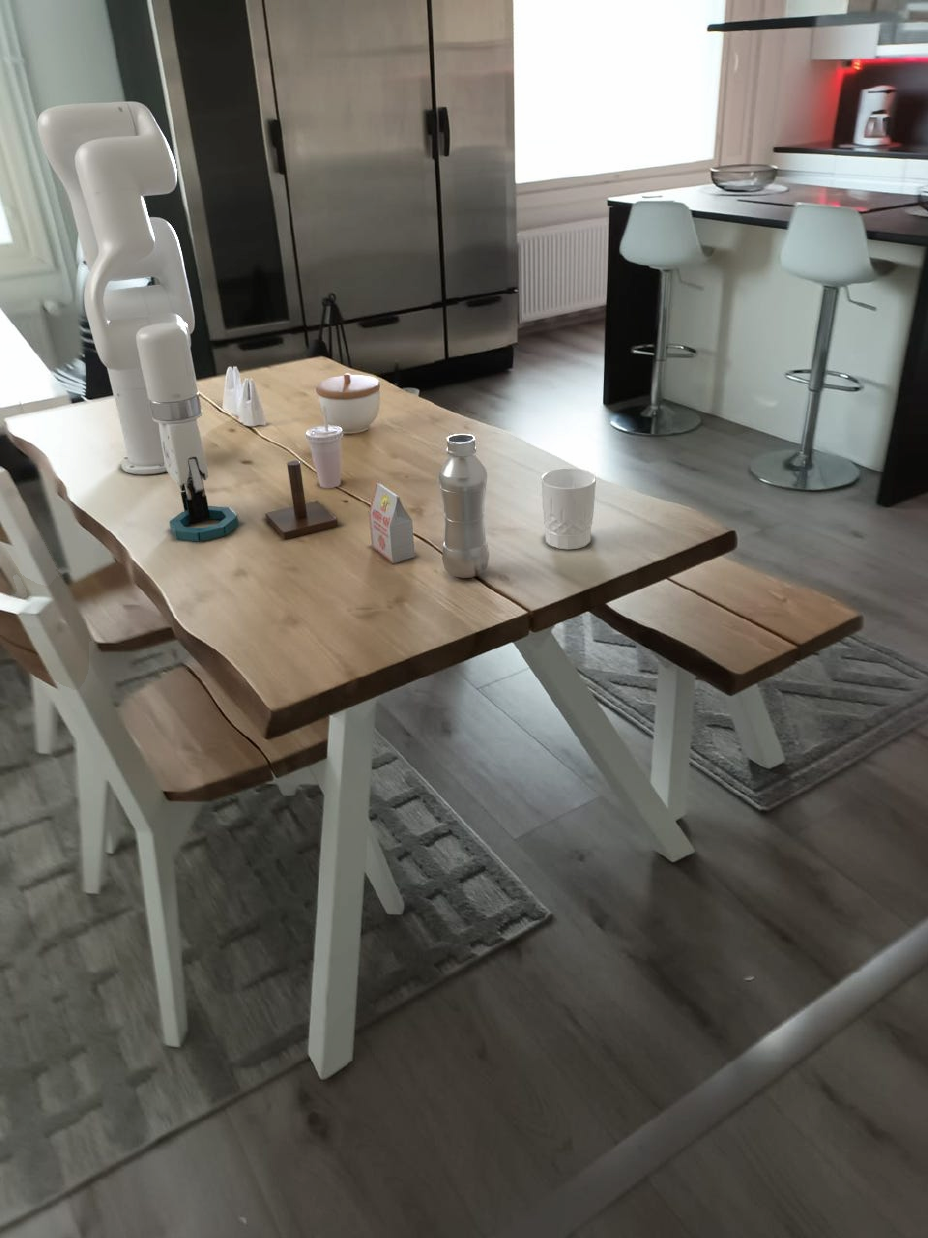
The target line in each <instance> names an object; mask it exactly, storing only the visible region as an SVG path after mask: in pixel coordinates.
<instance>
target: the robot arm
mask: <svg viewBox="0 0 928 1238" xmlns="http://www.w3.org/2000/svg"><path fill="white" fill-rule="evenodd" d="M37 132H38V136H39V140H40V143H41V146H42V149H43V151H44V154H45V156H46V158H47V160H48V162H49V164H50V165H51V168H52V169H53V170H54V173H55V174H56V175H57V177H58V179H59V181H60V183H61V184H62V185H63V188H64V190H65V192H66V194H67V196H68V199H69V202H70V205H71V210H72V213H73V218H74V221H75V225H76V231H77V234H78V238H79V242H80V246H81V250H82V254H83V257H84V261H85V263H86V267H87V270H88V271H89V272H88V275H87V277H86V281H85V285H84V293H83V294H84V295H83V297H84V298H83V299H84V300H83V301H84V311H85V315H86V319H87V322H88V325H89V329H90V333H91V336H92V340H93V344H94V347H95V350H96V352H97V355H98V358H99V360H100V361H101V363H102V364H103V365H104V366H105V367H106V369H107V374H108V377H109V382H110V385H111V390H112V394H113V398H114V403H115V407H116V411H117V416H118V420H119V424H120V429H121V433H122V437H123V442H124V446H125V450H126V455H124V456H123V457H122V458H121V460H120V462H119V463H120V467H121V469H122V470H123V471H124V472H126V473H129V474H133V475H154V474H161V473H165V472H167V473H168V474H169V476H170V477H171V479H172V480H173V481H174V482H175V483H176V484H177V485H179V489H180V496H181V501H182V507H183V512H184V511H186V510H188V513H189V518H190V521H191V523H196V522H201V521H205V520H210V519H209V518H210V514H209V509H208V506H209V504H208V499H207V495H206V491H205V486H204V481H206V480H208V478H209V471H208V466H207V465H208V464H207V460H206V454H205V449H204V445H203V441H202V435H201V431H200V426H199V421H198V419H199V418H201V417H202V415H203V409H202V405H201V400H200V398H201V397H200V394H199V387H198V383H197V377H196V372H195V366H194V361H193V356H192V351H191V350H192V349H191V347H192V338H191V334H193V332H194V330H195V325H196V324H195V323H196V321H195V312H194V306H193V301H192V297H191V291H190V288H189V287H190V286H189V282H188V278H187V273H186V269H185V262H184V258H183V253H182V250H181V246H180V241H179V238H178V236H177V234H176V231H175V230H174V228H173V226H172V225H171V224H170V222H168V221H167V220H166V219H164V218H162V217H155V216H150V217H149V215H148V211H147V207H146V203H145V199H144V197H148V196H159V195H160V196H161V195H168V194H170V193H172V192H173V191H174V190H175V188H176V186H177V182H178V174H177V168H176V163H175V159H174V155H173V152H172V150H171V147H170V145H169V143H168V141H167V138H166V137H165V135H164V132H163V131H162V130H161V128H160V126H159V124H158V123H157V121H156V119H155V117H154V115H153V114H152V112H151V111H150V109H149V108H148V107H147V106H146V105H145V104H144V103H141V102H138V101H114V102H113V101H110V102H84V103H83V102H82V103H70V104H62V105H55V106H53V107H49V108H47V109H45V110H43V111H41V113H40V114H39V115H38V118H37ZM145 278H156V279H157V280H158V281H159V283H158V284H152V285H145V286H134V287H125V288H117V289H112V290H107V291H105V290H106V287H107V286H108V284H109V282H120V281H122V282H123V281H130V280H138V279H145Z"/></svg>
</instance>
